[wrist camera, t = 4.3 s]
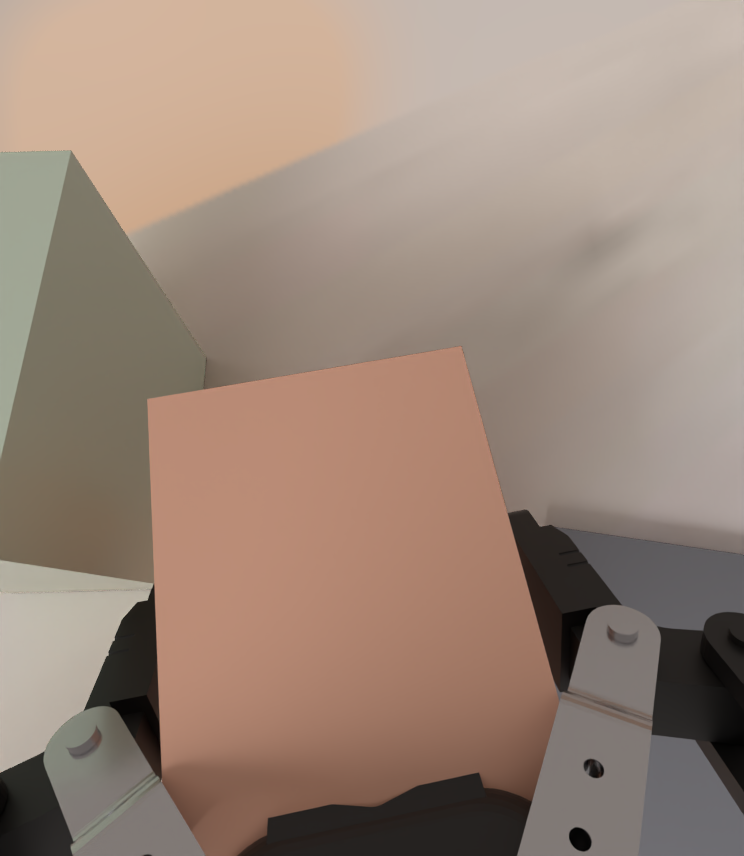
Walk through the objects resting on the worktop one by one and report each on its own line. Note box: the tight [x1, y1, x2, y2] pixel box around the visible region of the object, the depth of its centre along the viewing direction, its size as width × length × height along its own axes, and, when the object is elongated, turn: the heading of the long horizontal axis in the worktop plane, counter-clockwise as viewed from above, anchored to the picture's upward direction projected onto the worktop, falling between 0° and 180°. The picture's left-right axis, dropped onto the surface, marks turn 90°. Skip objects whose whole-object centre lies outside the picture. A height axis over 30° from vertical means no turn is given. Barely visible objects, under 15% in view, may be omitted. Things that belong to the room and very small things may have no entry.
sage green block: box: [0, 151, 206, 593], centre depth 15 cm, size 9×6×10 cm, turn 1°
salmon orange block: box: [147, 346, 559, 856], centre depth 13 cm, size 9×6×10 cm, turn 10°
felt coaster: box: [554, 527, 744, 856], centre depth 16 cm, size 10×10×1 cm
